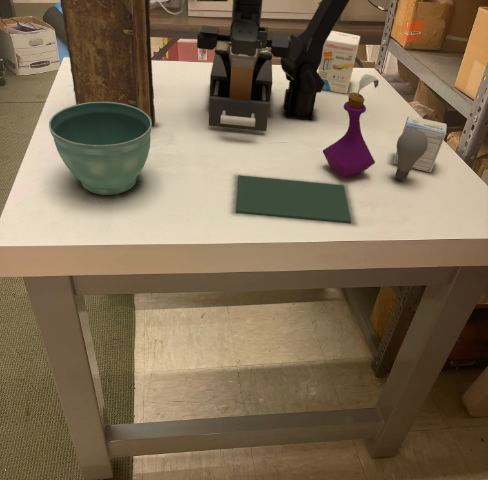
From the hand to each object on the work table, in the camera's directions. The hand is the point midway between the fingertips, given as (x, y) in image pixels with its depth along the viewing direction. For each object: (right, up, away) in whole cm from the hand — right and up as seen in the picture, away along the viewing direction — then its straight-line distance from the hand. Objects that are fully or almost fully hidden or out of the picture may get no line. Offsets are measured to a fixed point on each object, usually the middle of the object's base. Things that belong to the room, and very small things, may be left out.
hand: (240, 85), depth 106 cm
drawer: (-1, -6, +2) cm, 7 cm away
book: (-27, -8, -1) cm, 28 cm away
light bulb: (+32, -23, -8) cm, 40 cm away
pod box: (0, -4, +4) cm, 5 cm away
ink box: (+24, +12, +24) cm, 36 cm away
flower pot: (-23, -26, -18) cm, 39 cm away
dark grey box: (0, +2, +12) cm, 12 cm away
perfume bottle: (+21, -21, -8) cm, 31 cm away
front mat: (+9, -29, -17) cm, 35 cm away
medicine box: (+36, -18, -3) cm, 40 cm away
